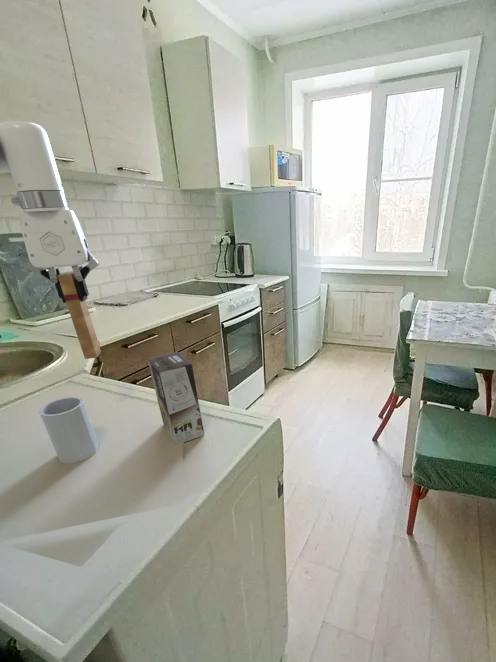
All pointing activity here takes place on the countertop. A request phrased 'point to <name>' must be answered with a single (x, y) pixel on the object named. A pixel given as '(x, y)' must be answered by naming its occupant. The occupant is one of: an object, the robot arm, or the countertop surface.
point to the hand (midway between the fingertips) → (75, 299)
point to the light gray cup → (69, 429)
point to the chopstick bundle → (79, 316)
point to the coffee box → (177, 396)
